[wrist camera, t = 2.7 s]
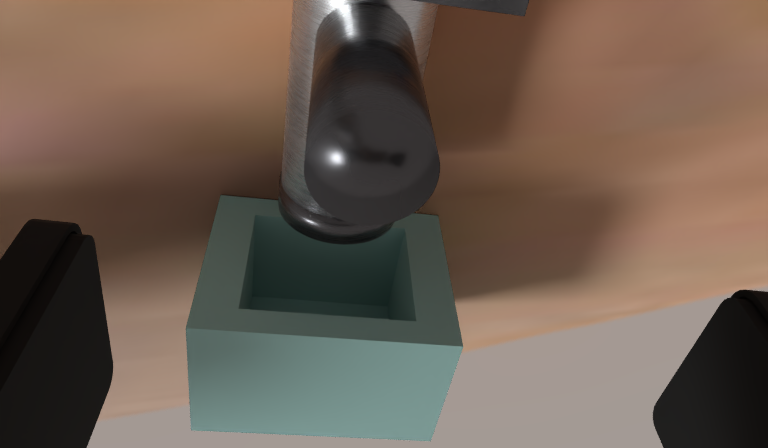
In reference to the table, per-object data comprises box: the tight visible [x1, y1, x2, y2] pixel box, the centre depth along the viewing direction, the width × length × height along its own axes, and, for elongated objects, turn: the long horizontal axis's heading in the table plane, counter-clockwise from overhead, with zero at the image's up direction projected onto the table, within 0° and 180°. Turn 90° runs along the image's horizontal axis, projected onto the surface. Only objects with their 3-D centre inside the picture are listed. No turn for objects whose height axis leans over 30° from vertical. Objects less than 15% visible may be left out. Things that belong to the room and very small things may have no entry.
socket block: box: [186, 195, 463, 441], centre depth 25 cm, size 6×9×7 cm, turn 81°
